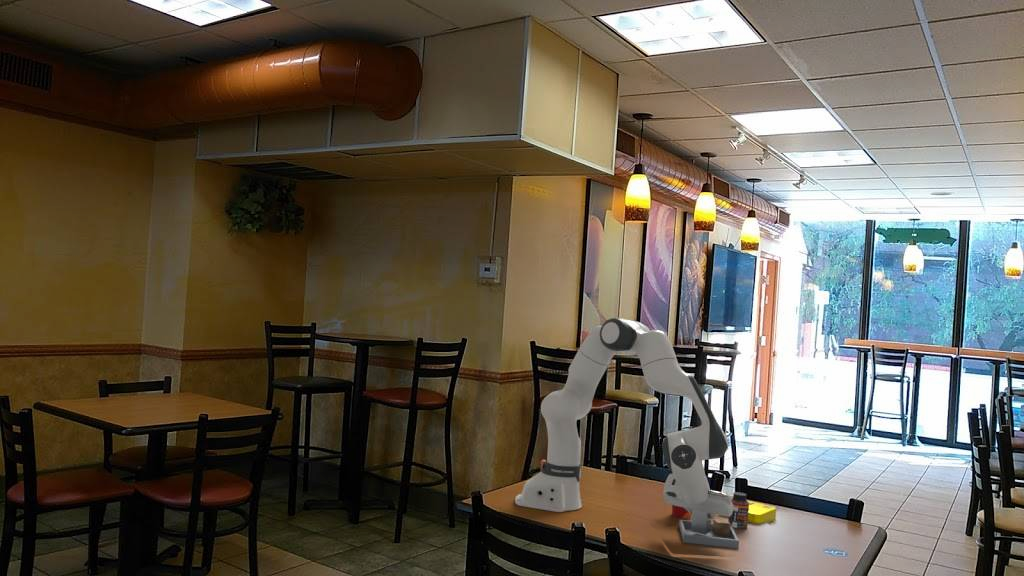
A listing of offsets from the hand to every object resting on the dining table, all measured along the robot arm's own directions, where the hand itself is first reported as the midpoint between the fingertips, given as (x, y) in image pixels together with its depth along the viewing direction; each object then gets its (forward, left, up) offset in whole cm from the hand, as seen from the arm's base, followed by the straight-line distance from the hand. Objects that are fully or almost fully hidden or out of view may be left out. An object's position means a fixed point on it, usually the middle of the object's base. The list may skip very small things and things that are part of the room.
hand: (702, 514), depth 224 cm
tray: (+2, -2, -7) cm, 7 cm away
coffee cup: (-4, +19, -7) cm, 21 cm away
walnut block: (+6, +3, -6) cm, 9 cm away
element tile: (+18, +29, -8) cm, 35 cm away
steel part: (0, -1, -5) cm, 5 cm away
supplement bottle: (+13, +13, -7) cm, 20 cm away
